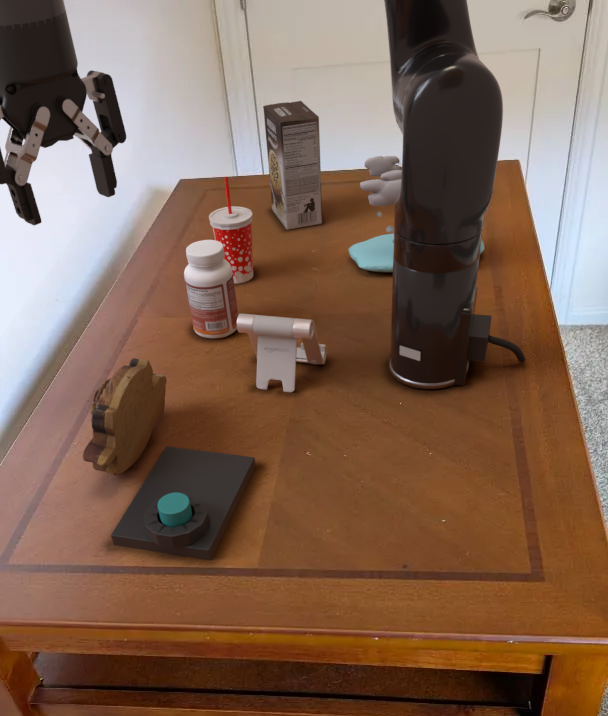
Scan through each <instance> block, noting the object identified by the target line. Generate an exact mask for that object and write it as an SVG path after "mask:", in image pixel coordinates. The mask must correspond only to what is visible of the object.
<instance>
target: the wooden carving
mask: <svg viewBox="0 0 608 716" xmlns="http://www.w3.org/2000/svg"><path fill="white" fill-rule="evenodd" d="M167 381H168V379H167V376H166V375H165V374H162V373H157V374H156V373H154V372H153V367H152V365H151V363H150V361H149V360H148V359H144V358H134V357H132V358H131V359H130V361H129V364H128V365H127V364H125V365H123V366H121V367H120V368H119V369H118V370H116V371H115V372H114V373H113V375H112V377H110V378H108V379H106V380H105V381H104V382H103V383H102V384H101V386H100V387H98V388H97V389H96V390H95V392H94V394H93V400H92V401H93V403H92V405H90V414H91V428H92V439H91V440H90V441H89V442H88V443H87V445H86V446H85V448H84V449H83V452H82V459H83V461H84V462H87V463H92V468H93V470H95V471H98V472H104V473H106V474H109V475H112V476H117V475H121V474H122V473H124V472H126V471H128V470H129V469H130V468H132V467H133V466H134V464H135V463H136V462H137V461H138V460H139V458H140V457H141V455H142V454H143V452H144V450H145V449H146V447H147V445H148V443H149V440H150V438H151V436H152V433H153V430H154V427H155V425H156V422H157V421H159V420H160V419H161V418H162V415H163V414H164V412H165V409H166V408H165V406H166V392H167V391H166V388H167Z"/></svg>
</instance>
